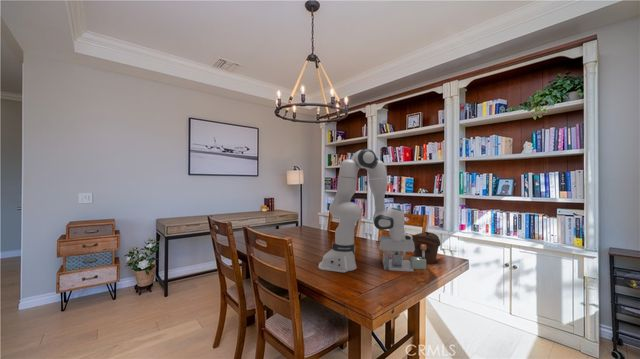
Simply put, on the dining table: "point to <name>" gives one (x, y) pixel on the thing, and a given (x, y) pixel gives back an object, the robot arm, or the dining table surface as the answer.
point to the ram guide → (418, 263)
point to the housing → (396, 258)
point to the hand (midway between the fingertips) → (396, 258)
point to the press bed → (389, 266)
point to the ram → (423, 248)
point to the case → (431, 245)
